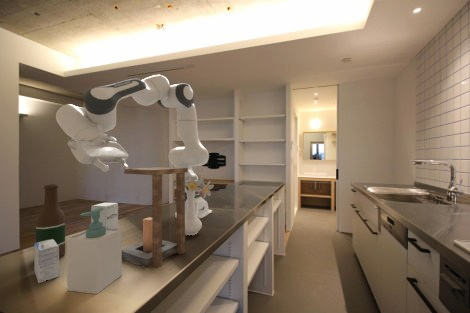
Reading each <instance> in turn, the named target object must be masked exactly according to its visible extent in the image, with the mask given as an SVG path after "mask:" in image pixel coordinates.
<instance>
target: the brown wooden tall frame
mask: <svg viewBox="0 0 470 313" xmlns="http://www.w3.org/2000/svg"><path fill="white" fill-rule="evenodd" d="M123 172H124V173H123V174H124V175H125V174H126V175H142V176H143V175H144V176H151V177H152V178H151V181H152V184H151V187H152V188H151V192H152V194H151V196H152V201H151V204H152V206H151V210H152V211H151V212H152V213H151V216H152V252H151V253H146V252H143V241H141V242H139V243H138V242H137V243H136V244H133V245H131V246H127V247H125V248H123V249H122V261H123V260H124V261H127V262H130V263H132V264H135V265H138V266H140V267H143V268H146V269H149V268H150V267H154V268H157V269H158V268H159V267H161V266H163V261H164V260H165V259H167V258H169V257H171V256H173V255H174V254H178V255H182V254H183V255H184V253H186V235H185V172H188V168H175V167H163V166H161V167H159V166H157V167H139V168H138V167H136V168H128V169H124V170H123ZM172 174H174V175H175V174H176V175H175V178H176V180H175V182H176V189H175V191H176V192H175V195H176V198H175V202H176V204H175V206H176V207H175V208H176V209H175V210H176V211H175V213H176V217H175V219H176V222H175V223H176V225H175V227H176V228H175V229H176V232H175V233H176V234H175V235H176V238H175V240H176V241H175V242H176V243H175V242H171V241H168V240H163V175H172Z"/></svg>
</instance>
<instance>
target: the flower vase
mask: <svg viewBox="0 0 470 313" xmlns="http://www.w3.org/2000/svg"><path fill="white" fill-rule="evenodd" d="M189 179H190V180H189ZM204 180H205V179H204V177H202V176H201V177H200V179H198V181H197V177H196V176H194V178H193V177H190V176H187V177H186V178H185V187H186V188H187V189H186V193H187V213H186V216H185V236H187V235H189V237H190V235H192V236H195V234H196V235H198V234H199V231H200V230H201V229H202V227H203V223H202V221H201V219H200V218H199V219H198V218H197V216H196V213H195V204H194V197H195V191H196V192H200V190H203V194H202V196H203V197H202V198H203V199H206V197H207V196H208V197H211V195H212V193H211V190H212V189H213V188H214V186H215V185H214V184H211V180H208V182H207V183H205V181H204ZM173 184H174V186H173V187H172V190H176V181H174V182H173ZM188 187H189V188H188ZM197 233H198V234H197Z"/></svg>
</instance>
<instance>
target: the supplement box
mask: <svg viewBox="0 0 470 313" xmlns="http://www.w3.org/2000/svg"><path fill="white" fill-rule="evenodd" d="M98 208H103V210H102V211H100V218H99V222H102V223H103V226H105V227H106V228H111V229H119V203H118V202H101V203H98V204H94V205H93V204H92V205H91V210H90V211H93V210H96V209H98ZM90 217H91V218H90V220H91V221H90V223H93V219H92V216H90Z"/></svg>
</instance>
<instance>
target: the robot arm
mask: <svg viewBox="0 0 470 313" xmlns="http://www.w3.org/2000/svg"><path fill="white" fill-rule="evenodd" d="M128 97H129V98H130V97H132V99H133V100H134V101H135V102H136V103H137V104H138V105H141V106H144V107H149V106H151V105H154V104H155V103H157V104H158V106H159V107H161V108H163V109H173V108H175V110H176V129H177V133H176V135H177V137H178V138H180V139H181V140H182V142H183V144H184V145H183V146H177V147H174V148H171V149H170V151H169V153H168V161H169V162H170V163H171V165H172V167H173V168H188V172H185V178H186V177H187V176H190V177H193V178H194V176H196V177H197V181H198V180H199V177H198V175H197V173H195V172H194V170H193V167H199V166H204V165H206V164H207V163H208V161H209V159H210V154H209V151H208V149H207V148H206V147H204V146H203V144H202V142H201V140H200V137H199V132H198V131H199V130H198V128H199V127H198V115H197V114H198V113H197V109H196V104H194V99H195V92H194V90H193V88H192V87H191V85H190V84H188V83H186V82H184V83H183V82H181V83H177V84H172V85H171V84H170V81H169V80H168V78H167V77H166V76H164V75H161V74H154V75H151V76H148V77H145V78H143V79H140V78H129V79H125V80H122V81H119V82H115V83H112V84H108V85H103V86H102V85H100V86H94V87H90V88H88V89H86V90H85V91H84V93H83V94H82V102H83V104H84V105H83V106H84V107H81V106H80V107H79V106H76V105H74V104H71V103H70V104H69V103H67V104H64V105H62V106H61V107H59V108H58V109H57V111H56V113H55V120H56V122H57V124H58V125H59V127H60V128H61V129H62V131H63V132H64V133H65V134H66V135H67V136H68V137H70V138H71V139H69V140H68V141H67V145H68V147H70V151H71V153H72V155H73V156H74V157H75V159H76V160H77V162H79V163H81V164H82V165H92V164H93V166H94V167H96V168H98V169H100V170H101V171H102V172H103V173H106V172H107V173H108V171H109V170H110V169H111V167H110V166H109V165H108V164H115V163H116V164H119V165H120V169H121V170H123V171H124V169H129V165H128V164H127V160H128V159H129V153H128V152H127V151H126V149H125V148H123V146H122V145H121V144H120V143H119V142H117V141H118V140H117V139H116V138H115V137H114V136H112V135H109V134H106V133H108V132H110V131H113V130H114V129H115V128H116V126H117V105H118V103H119V102H120V101H121V100H123V99H127V98H128ZM189 180H190V179H189ZM188 188H189V187H188ZM186 189H187V188H186V187H185V216H186V213H187V193H186ZM201 195H204V191H203V190H201V189H200V192H196V191H195V197H194V204H195V213H196V216H197V218H198V219H199V220H200V219H203V218H204V217H207V216H209V214H212V213H213V210H212V209H209V204H208V202H207V200H205V198H203V197H202V196H201ZM174 214H175V217H174V218H176V212H175V213H174Z"/></svg>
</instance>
